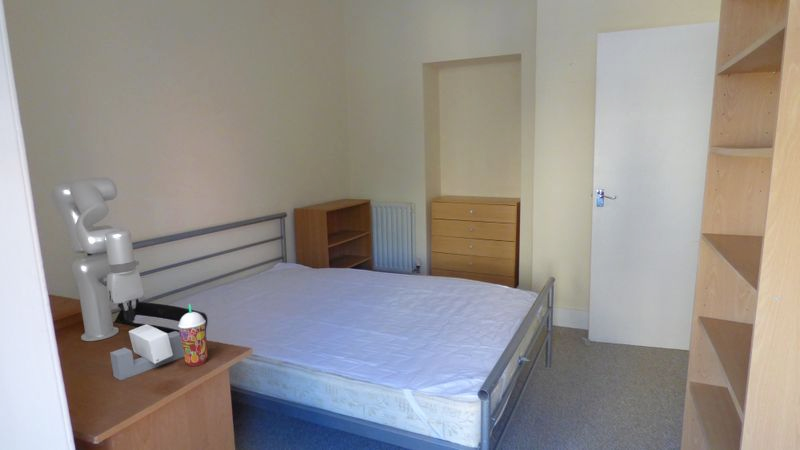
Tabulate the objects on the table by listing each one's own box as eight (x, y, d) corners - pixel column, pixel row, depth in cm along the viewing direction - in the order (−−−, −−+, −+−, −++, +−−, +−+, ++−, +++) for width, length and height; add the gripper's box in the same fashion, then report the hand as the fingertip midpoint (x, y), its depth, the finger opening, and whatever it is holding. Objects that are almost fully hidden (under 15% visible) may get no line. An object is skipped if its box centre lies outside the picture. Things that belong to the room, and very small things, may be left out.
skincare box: (151, 344, 174) (174, 356, 165) (132, 353, 169) (154, 365, 160) (146, 322, 172) (169, 332, 163) (126, 330, 167) (148, 341, 158)
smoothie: (177, 365, 165) (169, 307, 161) (198, 355, 172) (191, 299, 169) (195, 370, 161) (187, 309, 157) (215, 359, 168) (208, 301, 165)
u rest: (113, 376, 159) (110, 352, 158) (178, 353, 175) (175, 331, 174) (120, 380, 156) (116, 356, 155) (185, 356, 172) (182, 333, 171)
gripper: (140, 261, 175) (147, 312, 178) (93, 271, 164) (102, 325, 167) (150, 263, 171) (157, 315, 174) (102, 274, 159) (111, 329, 162)
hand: (130, 320), depth 170 cm, fingers closed
